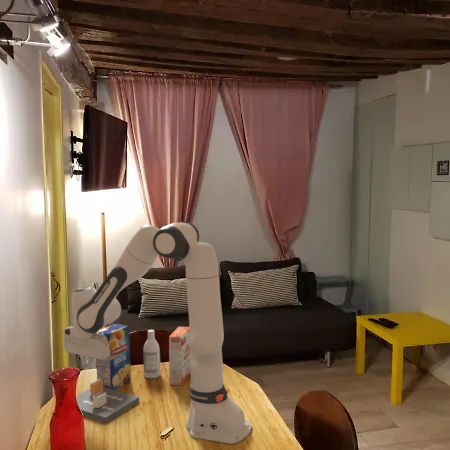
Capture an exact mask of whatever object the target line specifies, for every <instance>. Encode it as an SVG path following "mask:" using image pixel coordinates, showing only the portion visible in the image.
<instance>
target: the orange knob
mask: <svg viewBox="0 0 450 450" xmlns="http://www.w3.org/2000/svg"><path fill="white" fill-rule="evenodd" d="M89 386H90V387H89V389H90V392H91V394H97V393H99V392H101V391H103V380H101V378H99V379H97V378H96V380H93V381H92V382H90V385H89Z"/></svg>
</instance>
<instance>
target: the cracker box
mask: <svg viewBox="0 0 450 450" xmlns="http://www.w3.org/2000/svg"><path fill="white" fill-rule="evenodd" d="M168 341H169V342H168V348H169V349H168V359H169V361H168V362H169V363H168V364H169V365H168V367H169V369H168V370H169V371H168V372H169V374H168V377H169V385H170V386H179V387H182V386H183V385H184V384H185V382H186V381H187V379H188V378H189V376H191V365H190V331H189V326H177V328H176V329H175V330H174V331H172V333H171V334H170V335H169V337H168Z"/></svg>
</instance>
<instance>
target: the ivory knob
mask: <svg viewBox="0 0 450 450" xmlns="http://www.w3.org/2000/svg"><path fill="white" fill-rule="evenodd" d="M106 403H107V402H106V393H105V392H104V390H103V391H101V392H99V393H97V394H95V395H94V396H93V407H96V408H99V407H101V406H102V405H104V404H106Z"/></svg>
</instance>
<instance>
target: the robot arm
mask: <svg viewBox="0 0 450 450" xmlns="http://www.w3.org/2000/svg"><path fill="white" fill-rule="evenodd" d="M159 256H161V257H162V258H166V259H171V260H174V261H177V262H181V261H183V263H184V265H185V266H184V267H185V280H186V293H187V307H188V321H189V325H188V327H189V331H190V365H191V373H190V385H189V399H190V405H189V407H190V408H189V412H188V413H189V414H188V419H187V421H186V427H187V429H188V431H189V434H190V437H191V438H194V439H200V440H207V441H211V442H218V443H223V444H230V445H231V444H232V445H233V444H237V443H239V442H242V440H244V439H246V437H248V436H249V434H250V433H251V431H252V423H251V422H249V421H247V420H246V418H245V414H244V410H243V409H242V408H241V407H240V406H239V405H238V404H237V403H236V402H235V401H234V400H232V398H231V397H229V396H228V393H230V390H231V389H230V388H231V387H230V388H227V389H226V387H225V385H224V379H223V378H224V377H223V376H224V375H223V374H224V370H223V369H224V364H223V352H222V351H223V350H222V347H223V343H224V338H225V335H224V334H225V333H224V322H223V311H222V310H223V309H222V302H221V299H222V298H221V290H220V289H221V287H220V285H221V284H220V273H219V272H220V270H219V263H218V257H217V254H216V250H215V248H214V246H213V245H212V244H211V243H208V242H206V241H205V242H204V241H200V232H199V229H198V228H197V226H196V225H195V224H193V223H192V222H189V221H179V222H173V223H169V224H168V225H165V226H162V227H161V228H159V227H157V226H155V225H152V224H145V225H142V226H141V227H140V228H139V229H138V230H137V231H136V233H135V234H134V235H133V236H132V238H131V239H130V241H129V242H128V243H127V245H126V247H125V248H124V250H123V252H122V253H121V255H120V257H119V258H118V260H117V261H116V263H115V265H114V266H113V267H112V269H111V271H110V272H109V274H108V275H107V276H106V277H105V278H104V280H103V282H102V284H101V285H100V286H99V287H98V288H97V289H96V288H95V287H94V286H84V287H81V288H78V289H75V290H74V291H73V292H72V296H71V313H72V316H73V320H72V325H70V326H67V327H65V328H63V330H62V332H63V348H64V349H63V350H65V352H66V353H71V354H75V355H79V358H80V360H81V362H82V367H84V368H89V369H90V368H92V367H93V361H94V359H95V360H96V359H100V360H104V359H106V358H108V357H109V356H110V350H109V344H108V340H107V337H106V336H105V335H104V334H100V333H98V331H99V330H100V329H103V328H105V327H107V326H108V325H110V324H112V323H113V322H114V321H116V320H118V319H119V318H120V316H121V314H122V306H121V303H120V300H118V299H117V298H116V297H117V296H118V295H119V293H120V292H122V290H123V289H124V288H126V287H127V286H129V285H131V284H133V283H135V282H136V281H137V280H139V279H141V278H142V277H143V276H145V274H147V273H148V271H149V270H150V269H151V268H152V266H153V265H154V264H155V262H156V260H157V259H158V257H159Z"/></svg>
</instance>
